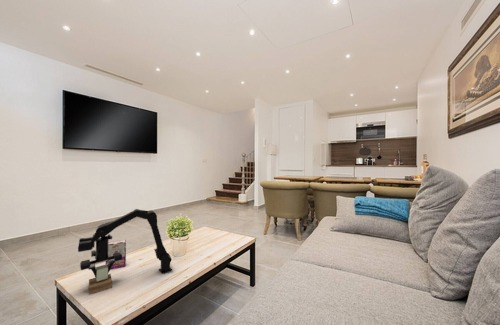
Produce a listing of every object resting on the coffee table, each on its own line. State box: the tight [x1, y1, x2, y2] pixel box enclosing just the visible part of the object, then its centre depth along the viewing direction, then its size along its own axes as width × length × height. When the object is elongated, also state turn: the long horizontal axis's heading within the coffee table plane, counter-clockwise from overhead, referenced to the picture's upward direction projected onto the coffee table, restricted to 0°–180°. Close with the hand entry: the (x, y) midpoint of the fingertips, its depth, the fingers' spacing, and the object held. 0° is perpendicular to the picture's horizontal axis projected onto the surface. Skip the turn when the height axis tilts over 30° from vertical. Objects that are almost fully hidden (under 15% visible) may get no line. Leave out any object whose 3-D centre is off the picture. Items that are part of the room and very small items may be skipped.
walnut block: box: [88, 273, 113, 296], centre depth 114 cm, size 10×10×4 cm
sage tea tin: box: [95, 263, 109, 281], centre depth 115 cm, size 5×5×6 cm
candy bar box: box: [105, 239, 127, 270], centre depth 137 cm, size 11×5×16 cm, turn 117°
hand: (101, 275), depth 115 cm, fingers closed on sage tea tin, 5 cm apart
